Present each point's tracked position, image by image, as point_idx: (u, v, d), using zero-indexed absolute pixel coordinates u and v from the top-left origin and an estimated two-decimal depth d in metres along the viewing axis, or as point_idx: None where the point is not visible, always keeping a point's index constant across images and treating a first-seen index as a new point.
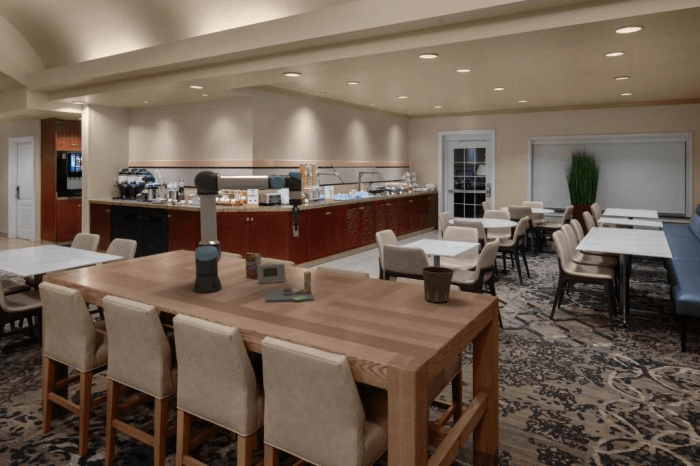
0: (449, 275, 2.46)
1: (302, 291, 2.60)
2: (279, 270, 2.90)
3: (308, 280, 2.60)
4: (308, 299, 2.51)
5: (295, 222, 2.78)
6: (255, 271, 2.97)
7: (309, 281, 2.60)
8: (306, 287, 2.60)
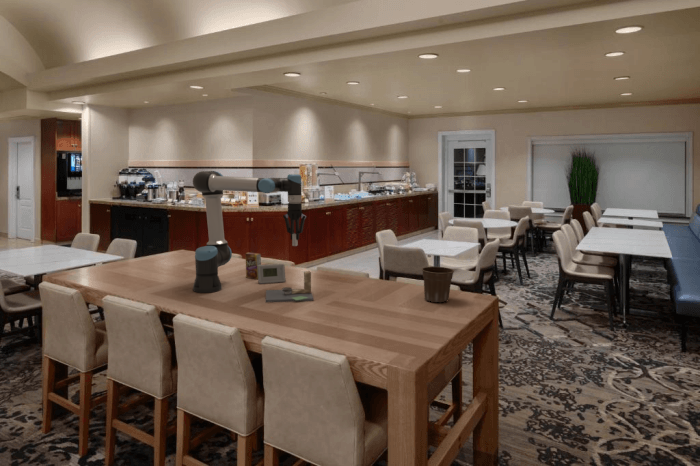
0: (449, 275, 2.46)
1: (302, 291, 2.60)
2: (279, 270, 2.90)
3: (308, 280, 2.60)
4: (308, 299, 2.51)
5: None
6: (255, 271, 2.97)
7: (309, 281, 2.60)
8: (306, 287, 2.60)
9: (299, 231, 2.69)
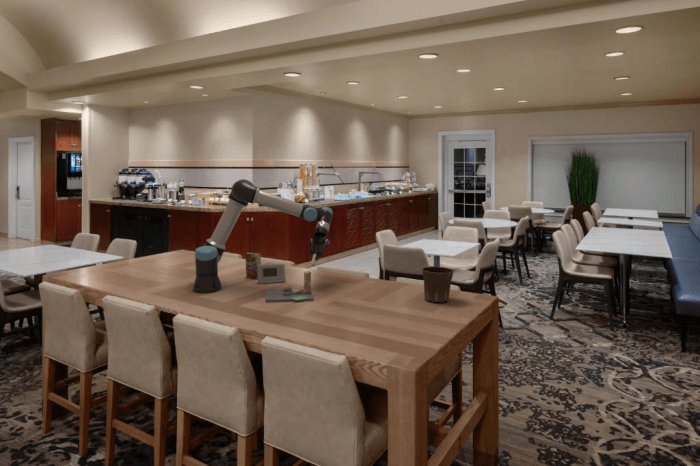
0: (449, 275, 2.46)
1: (302, 291, 2.60)
2: (279, 270, 2.90)
3: (308, 280, 2.60)
4: (308, 299, 2.51)
5: None
6: (255, 271, 2.97)
7: (309, 281, 2.60)
8: (306, 287, 2.60)
9: (320, 251, 2.72)
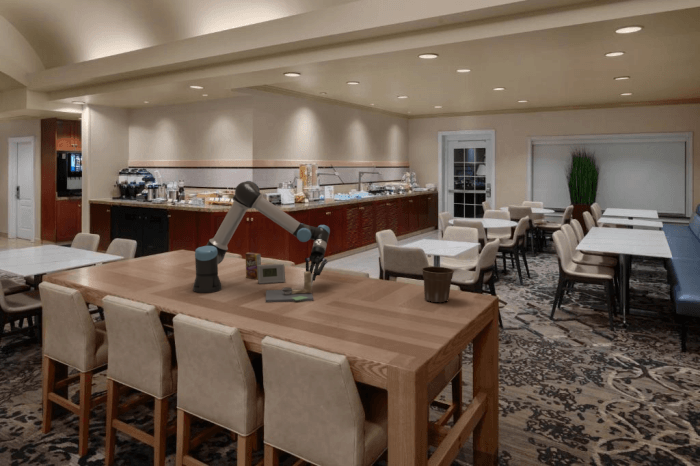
0: (449, 275, 2.46)
1: (302, 291, 2.60)
2: (279, 270, 2.90)
3: (308, 281, 2.60)
4: (308, 299, 2.51)
5: None
6: (255, 271, 2.97)
7: (309, 281, 2.60)
8: (306, 287, 2.60)
9: (317, 271, 2.68)
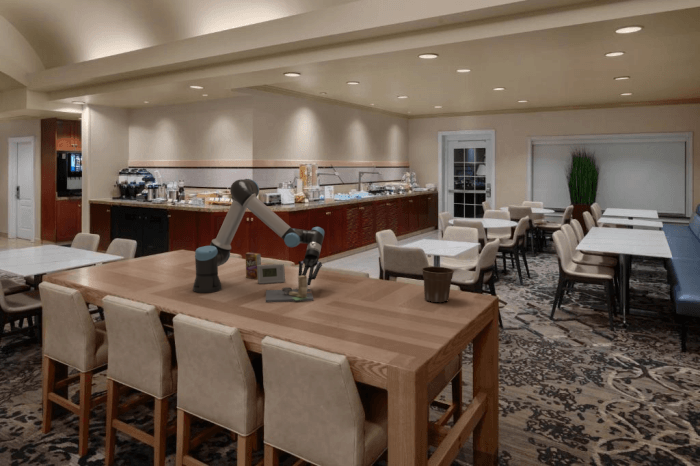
0: (449, 275, 2.46)
1: (296, 295, 2.53)
2: (279, 270, 2.89)
3: (300, 285, 2.50)
4: (308, 299, 2.51)
5: None
6: (255, 271, 2.97)
7: (301, 286, 2.50)
8: (299, 291, 2.51)
9: (312, 275, 2.58)
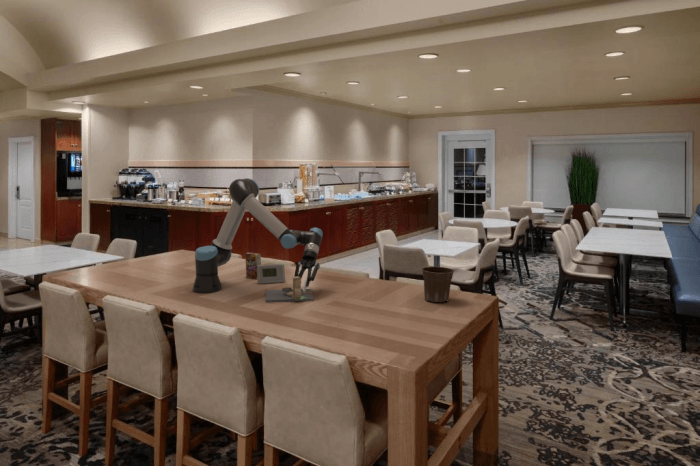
0: (449, 275, 2.46)
1: (291, 295, 2.52)
2: (278, 270, 2.89)
3: (294, 286, 2.48)
4: (308, 299, 2.51)
5: None
6: (255, 271, 2.97)
7: (294, 287, 2.47)
8: (293, 292, 2.49)
9: (311, 277, 2.55)
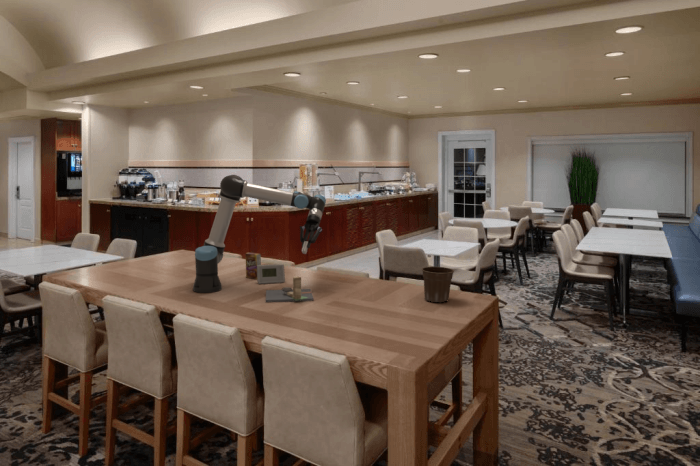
0: (449, 275, 2.46)
1: (292, 295, 2.52)
2: (278, 270, 2.89)
3: (294, 286, 2.48)
4: (308, 299, 2.51)
5: None
6: (255, 271, 2.97)
7: (295, 287, 2.48)
8: (293, 292, 2.49)
9: (312, 239, 2.68)
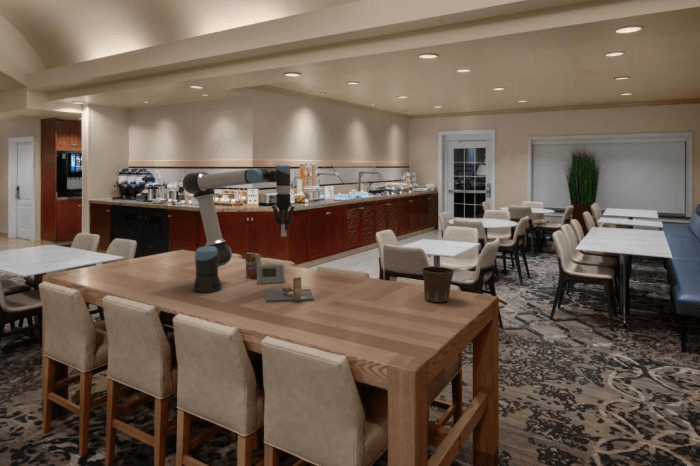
0: (449, 275, 2.46)
1: (292, 295, 2.52)
2: (278, 270, 2.89)
3: (294, 286, 2.48)
4: (308, 299, 2.51)
5: None
6: (255, 271, 2.97)
7: (295, 287, 2.48)
8: (293, 292, 2.49)
9: (288, 222, 2.70)
